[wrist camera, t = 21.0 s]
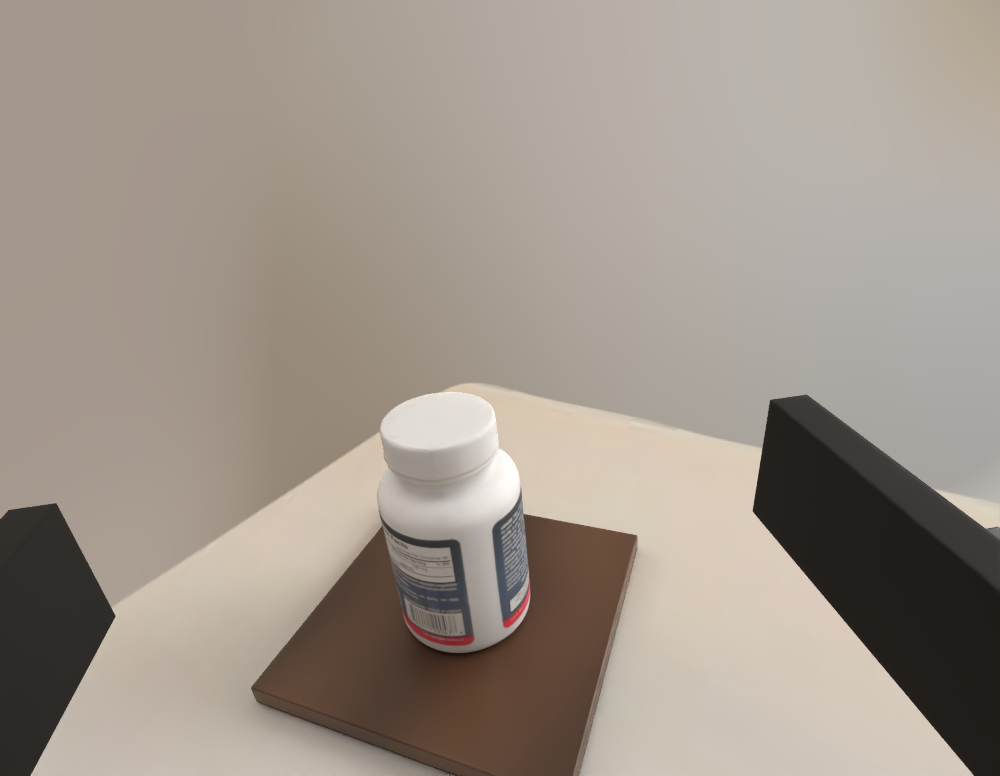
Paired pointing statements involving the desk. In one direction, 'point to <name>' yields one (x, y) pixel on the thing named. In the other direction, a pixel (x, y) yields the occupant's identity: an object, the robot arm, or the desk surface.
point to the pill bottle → (453, 522)
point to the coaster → (464, 662)
